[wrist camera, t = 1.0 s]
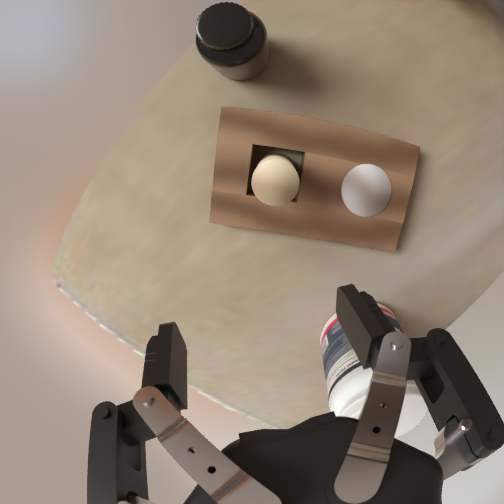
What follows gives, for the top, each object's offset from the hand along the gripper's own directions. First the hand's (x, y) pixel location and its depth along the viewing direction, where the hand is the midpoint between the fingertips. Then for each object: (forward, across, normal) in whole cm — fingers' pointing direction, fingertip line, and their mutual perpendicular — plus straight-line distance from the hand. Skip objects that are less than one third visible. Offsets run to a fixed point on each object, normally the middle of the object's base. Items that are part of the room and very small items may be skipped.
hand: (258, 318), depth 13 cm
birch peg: (+23, -6, 0) cm, 24 cm away
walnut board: (+22, -11, +1) cm, 25 cm away
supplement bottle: (+26, -5, -15) cm, 31 cm away
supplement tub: (+18, -16, +25) cm, 35 cm away
